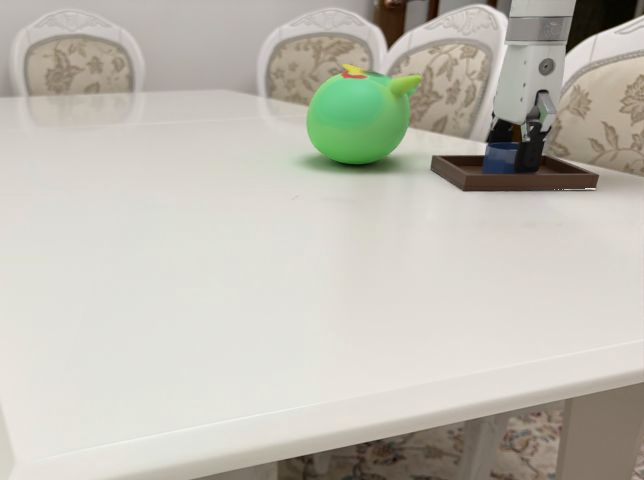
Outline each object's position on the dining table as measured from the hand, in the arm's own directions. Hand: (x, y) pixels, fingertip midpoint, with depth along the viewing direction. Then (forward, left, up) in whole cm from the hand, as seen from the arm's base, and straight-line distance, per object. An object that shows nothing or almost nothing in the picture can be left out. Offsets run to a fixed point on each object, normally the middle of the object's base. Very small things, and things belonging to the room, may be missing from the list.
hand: (510, 164), depth 97 cm
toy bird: (+19, -12, -2) cm, 23 cm away
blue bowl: (0, 0, -1) cm, 2 cm away
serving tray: (0, 0, -2) cm, 2 cm away
